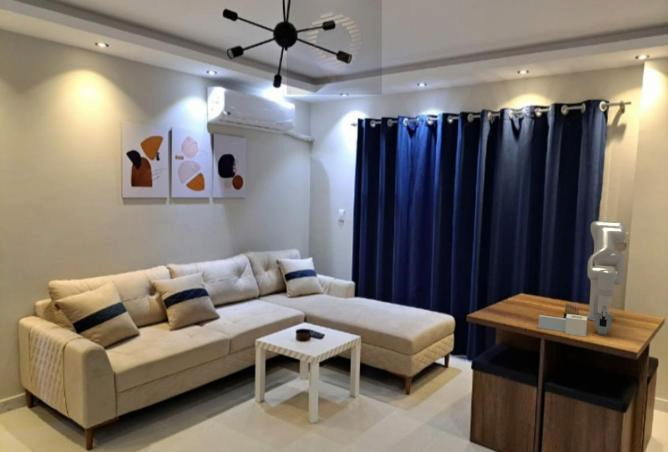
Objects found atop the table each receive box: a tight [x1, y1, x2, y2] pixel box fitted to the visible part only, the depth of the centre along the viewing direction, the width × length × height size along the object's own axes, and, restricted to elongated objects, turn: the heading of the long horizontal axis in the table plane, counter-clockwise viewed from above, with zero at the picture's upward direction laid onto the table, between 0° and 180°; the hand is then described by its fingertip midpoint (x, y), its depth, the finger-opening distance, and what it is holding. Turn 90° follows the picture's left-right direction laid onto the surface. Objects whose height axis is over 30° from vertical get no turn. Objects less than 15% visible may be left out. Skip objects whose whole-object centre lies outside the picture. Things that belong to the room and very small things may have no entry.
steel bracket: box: [593, 313, 613, 336], centre depth 262 cm, size 3×8×11 cm, turn 62°
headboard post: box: [537, 314, 588, 338], centre depth 267 cm, size 9×24×9 cm, turn 62°
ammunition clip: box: [563, 301, 580, 319], centre depth 282 cm, size 11×2×12 cm, turn 14°
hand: (602, 325), depth 263 cm, fingers closed on steel bracket, 3 cm apart
